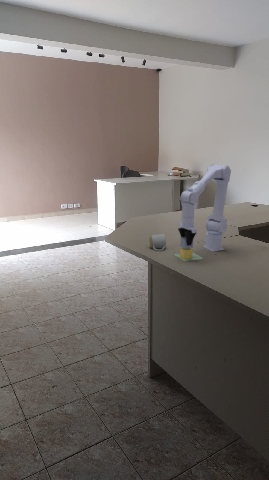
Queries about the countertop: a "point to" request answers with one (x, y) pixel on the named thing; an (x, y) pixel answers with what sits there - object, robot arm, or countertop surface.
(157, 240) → the ceramic mug
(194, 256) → the baseplate
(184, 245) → the blue brick
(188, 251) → the yellow brick
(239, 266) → the countertop surface
